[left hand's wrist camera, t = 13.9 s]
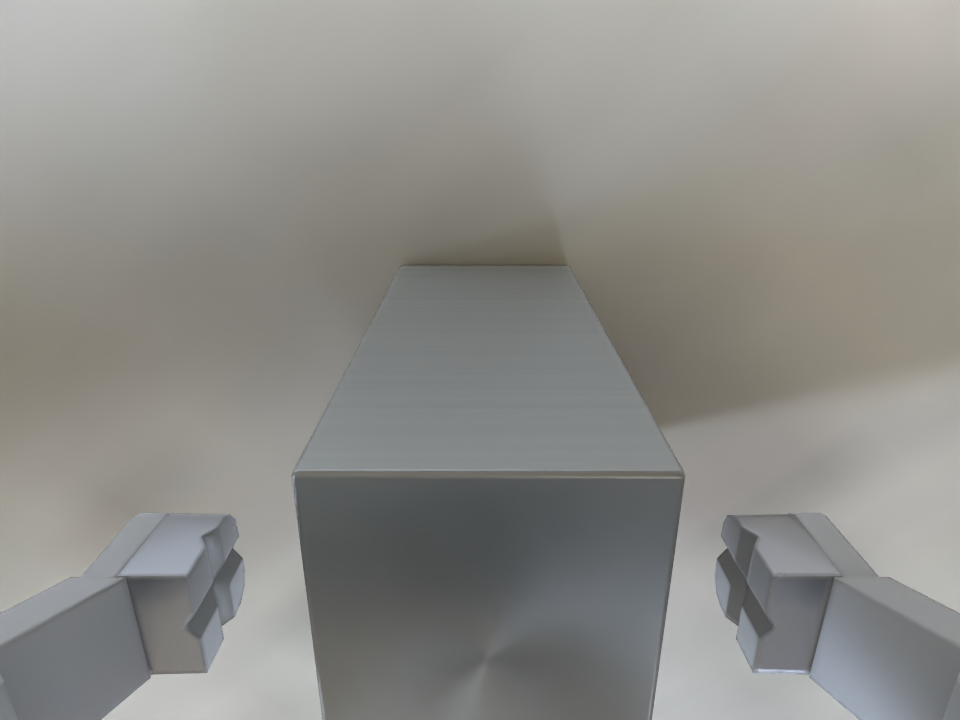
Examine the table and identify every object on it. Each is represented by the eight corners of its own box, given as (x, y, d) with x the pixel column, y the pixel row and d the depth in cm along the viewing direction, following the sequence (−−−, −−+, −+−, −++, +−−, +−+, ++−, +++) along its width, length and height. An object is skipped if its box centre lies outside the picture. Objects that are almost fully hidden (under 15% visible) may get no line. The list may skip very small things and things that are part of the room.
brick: (569, 264, 17) (688, 472, 7) (560, 449, 19) (641, 805, 9) (399, 264, 17) (288, 472, 7) (408, 449, 19) (331, 804, 9)
